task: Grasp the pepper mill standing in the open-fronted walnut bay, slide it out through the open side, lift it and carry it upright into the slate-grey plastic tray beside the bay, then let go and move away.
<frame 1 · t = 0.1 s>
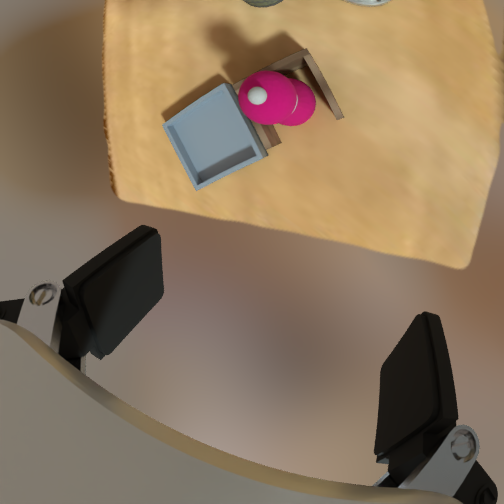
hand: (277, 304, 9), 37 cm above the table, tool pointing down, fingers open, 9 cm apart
slate tray: (216, 136, 45), on the table
pepper mill: (295, 103, 38), on the table
walnut bay: (295, 103, 38), on the table
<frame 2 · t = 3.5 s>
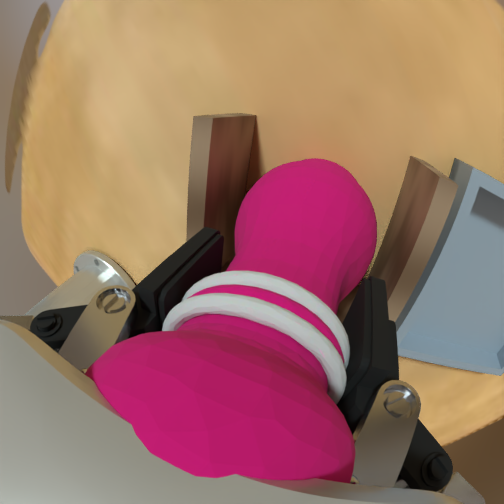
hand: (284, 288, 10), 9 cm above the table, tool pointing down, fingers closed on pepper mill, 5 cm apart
slate tray: (488, 278, 15), on the table
pepper mill: (317, 204, 18), on the table, touching gripper
walnut bay: (317, 205, 17), on the table
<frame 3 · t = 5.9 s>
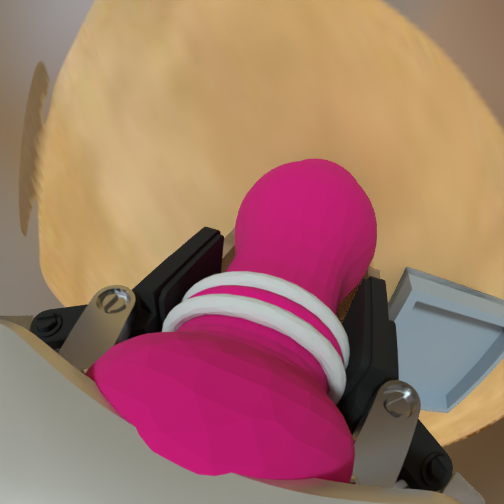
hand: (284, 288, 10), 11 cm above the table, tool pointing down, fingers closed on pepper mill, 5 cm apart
slate tray: (434, 345, 21), on the table
pepper mill: (317, 204, 18), point 1 cm above the table, touching gripper
walnut bay: (293, 297, 24), on the table
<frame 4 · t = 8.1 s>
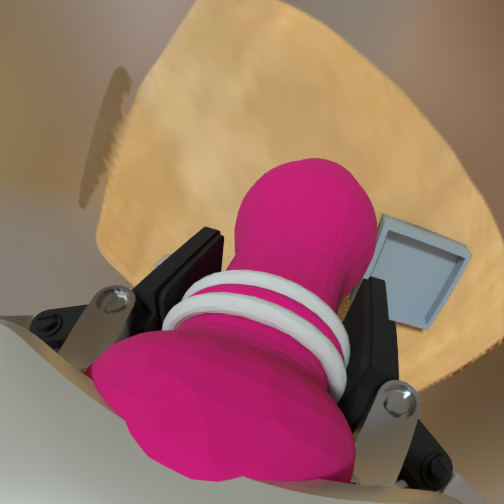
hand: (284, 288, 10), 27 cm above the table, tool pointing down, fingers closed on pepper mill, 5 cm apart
slate tray: (408, 271, 35), on the table
pepper mill: (317, 203, 18), point 18 cm above the table, touching gripper
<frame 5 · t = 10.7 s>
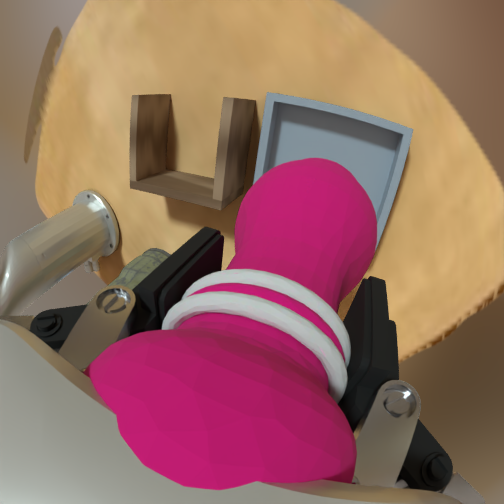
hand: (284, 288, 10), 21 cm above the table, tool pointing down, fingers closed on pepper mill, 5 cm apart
slate tray: (328, 170, 27), on the table
pepper mill: (317, 203, 18), point 12 cm above the table, touching gripper
walnut bay: (201, 136, 30), on the table
olive piece: (162, 271, 43), on the table
when the fingers open (12 cm above the table, at t = 12.7 s): pepper mill drops 1 cm, resting on slate tray.
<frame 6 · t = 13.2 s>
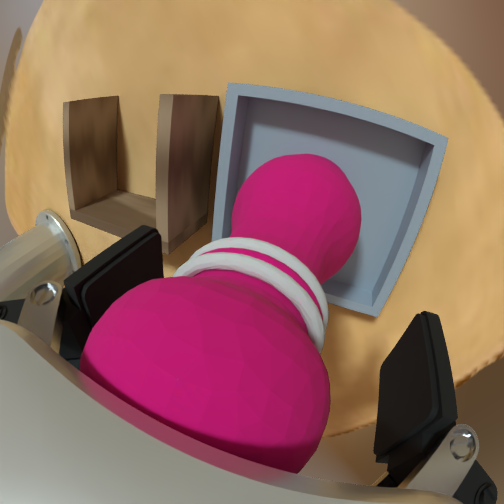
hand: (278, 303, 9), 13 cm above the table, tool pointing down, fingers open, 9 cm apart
slate tray: (321, 194, 20), on the table
pepper mill: (309, 195, 19), point 1 cm above the table, touching slate tray
walnut bay: (153, 147, 22), on the table
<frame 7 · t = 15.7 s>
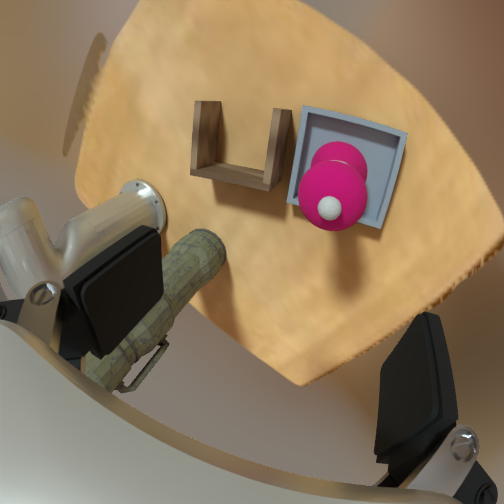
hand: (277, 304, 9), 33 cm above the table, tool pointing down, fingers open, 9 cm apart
slate tray: (346, 163, 36), on the table
pepper mill: (340, 163, 35), point 1 cm above the table, touching slate tray
walnut bay: (247, 135, 39), on the table
olive piece: (205, 248, 52), on the table
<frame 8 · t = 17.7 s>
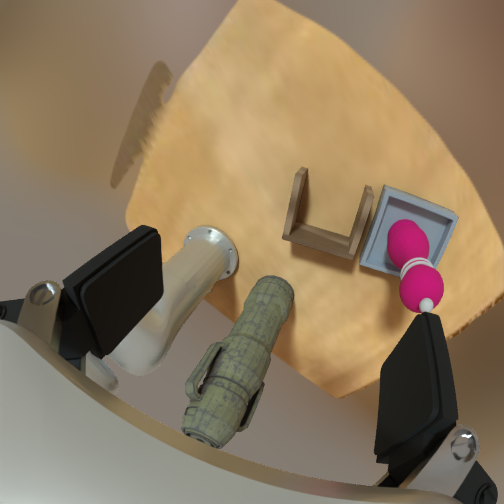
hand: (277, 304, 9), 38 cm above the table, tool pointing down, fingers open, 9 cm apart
slate tray: (407, 234, 42), on the table
pepper mill: (404, 235, 42), point 1 cm above the table, touching slate tray
walnut bay: (329, 203, 45), on the table
olive piece: (274, 291, 58), on the table
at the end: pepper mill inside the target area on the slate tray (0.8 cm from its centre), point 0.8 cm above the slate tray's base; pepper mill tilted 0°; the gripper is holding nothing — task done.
